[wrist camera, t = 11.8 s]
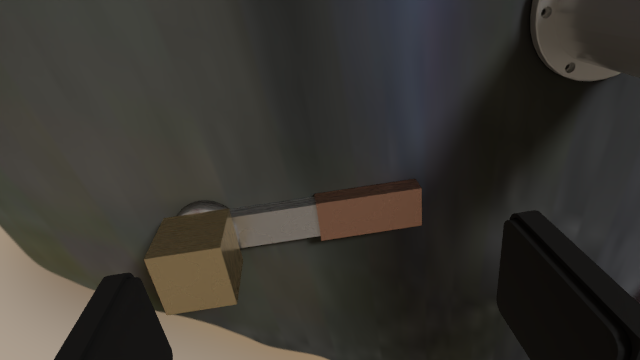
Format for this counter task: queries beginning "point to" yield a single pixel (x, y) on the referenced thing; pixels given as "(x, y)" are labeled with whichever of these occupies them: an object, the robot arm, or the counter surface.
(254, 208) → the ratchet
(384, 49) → the counter surface
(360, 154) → the counter surface
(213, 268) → the mustard yellow cube
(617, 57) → the robot arm
